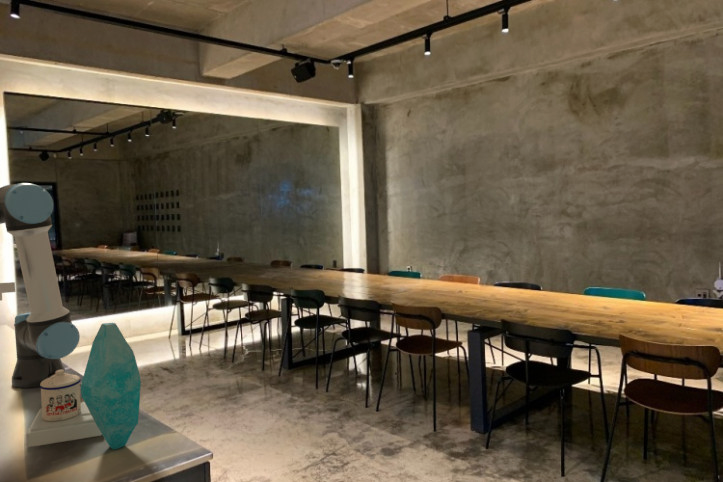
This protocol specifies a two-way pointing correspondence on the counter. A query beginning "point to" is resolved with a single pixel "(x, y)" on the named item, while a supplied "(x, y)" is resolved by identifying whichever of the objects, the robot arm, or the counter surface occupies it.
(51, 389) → the teacup with lid
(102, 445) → the counter surface
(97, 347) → the crystal
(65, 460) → the counter surface
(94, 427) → the plinth
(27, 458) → the counter surface
